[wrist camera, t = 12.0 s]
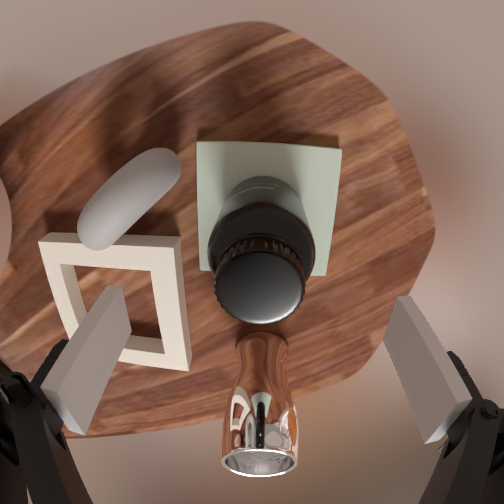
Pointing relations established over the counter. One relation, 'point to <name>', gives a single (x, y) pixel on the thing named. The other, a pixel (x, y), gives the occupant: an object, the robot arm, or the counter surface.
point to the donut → (127, 197)
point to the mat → (275, 165)
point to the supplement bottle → (261, 251)
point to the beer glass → (260, 410)
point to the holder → (126, 257)
